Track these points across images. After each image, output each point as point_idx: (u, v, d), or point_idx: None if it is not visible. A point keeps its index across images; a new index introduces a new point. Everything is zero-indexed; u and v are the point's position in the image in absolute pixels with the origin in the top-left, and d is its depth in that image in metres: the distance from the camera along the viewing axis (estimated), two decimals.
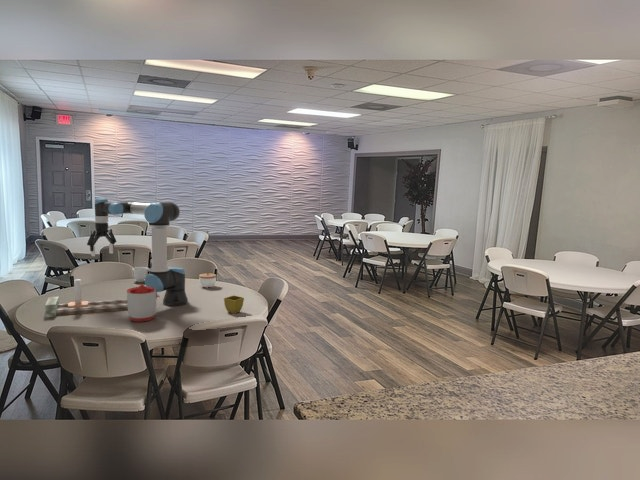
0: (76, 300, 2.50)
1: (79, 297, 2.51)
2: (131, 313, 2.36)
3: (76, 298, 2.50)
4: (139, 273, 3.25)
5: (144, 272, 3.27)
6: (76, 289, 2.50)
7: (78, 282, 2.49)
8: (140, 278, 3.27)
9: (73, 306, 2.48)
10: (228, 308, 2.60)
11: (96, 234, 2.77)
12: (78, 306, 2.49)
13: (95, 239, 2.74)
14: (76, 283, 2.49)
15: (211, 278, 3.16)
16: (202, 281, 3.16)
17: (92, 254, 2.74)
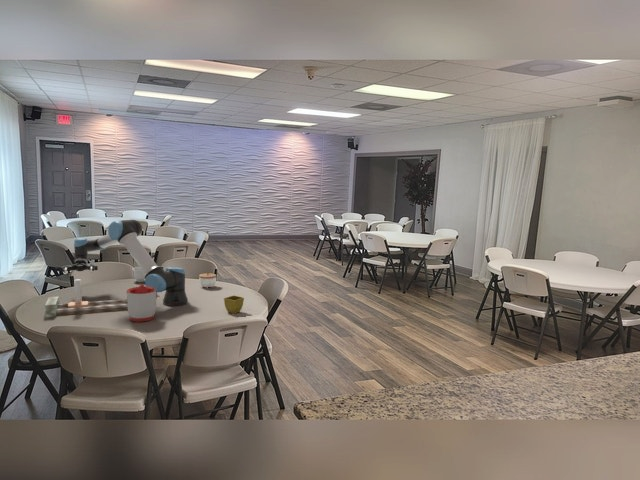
0: (76, 300, 2.50)
1: (79, 297, 2.51)
2: (131, 313, 2.36)
3: (76, 298, 2.50)
4: (139, 273, 3.25)
5: None
6: (76, 289, 2.50)
7: (78, 282, 2.49)
8: (140, 278, 3.27)
9: (73, 306, 2.48)
10: (228, 308, 2.60)
11: None
12: (78, 306, 2.49)
13: None
14: (76, 283, 2.49)
15: (211, 278, 3.16)
16: (202, 281, 3.16)
17: (64, 271, 2.57)
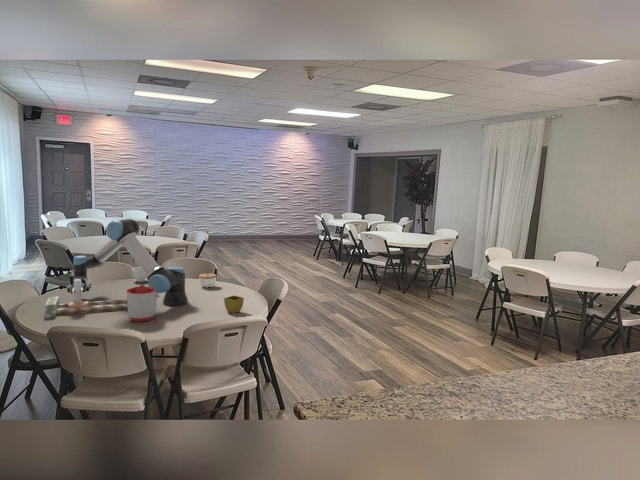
0: (76, 300, 2.50)
1: (79, 297, 2.51)
2: (131, 313, 2.36)
3: (76, 298, 2.50)
4: (139, 273, 3.25)
5: (144, 272, 3.27)
6: (76, 289, 2.50)
7: (78, 282, 2.49)
8: (140, 278, 3.27)
9: (73, 306, 2.48)
10: (228, 308, 2.60)
11: None
12: (78, 306, 2.49)
13: (72, 287, 2.55)
14: (76, 283, 2.49)
15: (211, 278, 3.16)
16: (202, 281, 3.16)
17: (72, 292, 2.46)
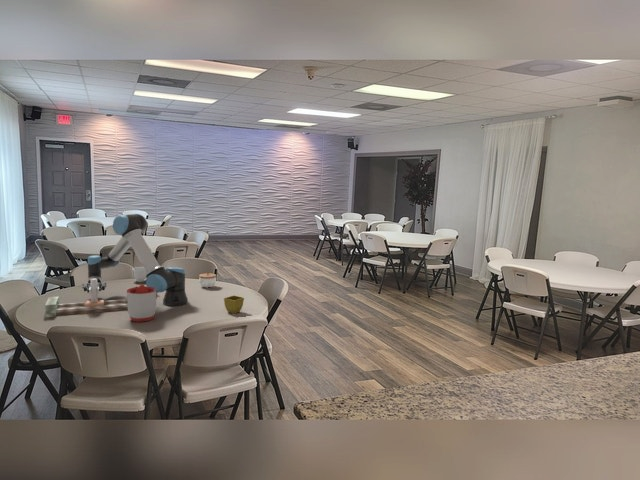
0: (92, 299, 2.54)
1: (95, 296, 2.55)
2: (131, 313, 2.36)
3: (92, 297, 2.54)
4: (139, 273, 3.25)
5: (144, 272, 3.27)
6: (92, 288, 2.53)
7: (94, 281, 2.53)
8: (140, 278, 3.27)
9: (90, 305, 2.52)
10: (228, 308, 2.60)
11: None
12: (94, 305, 2.53)
13: (88, 286, 2.59)
14: (92, 282, 2.53)
15: (211, 278, 3.16)
16: (202, 281, 3.16)
17: (89, 291, 2.50)
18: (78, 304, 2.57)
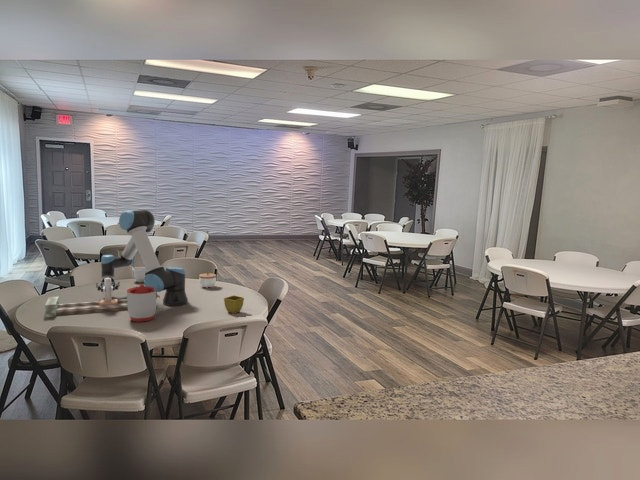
0: (106, 298, 2.57)
1: (109, 295, 2.58)
2: (131, 313, 2.36)
3: (106, 296, 2.57)
4: (139, 273, 3.25)
5: (144, 272, 3.27)
6: (106, 287, 2.56)
7: (108, 280, 2.56)
8: (140, 278, 3.27)
9: (104, 304, 2.55)
10: (228, 308, 2.60)
11: None
12: (108, 304, 2.56)
13: None
14: (106, 281, 2.56)
15: (211, 278, 3.16)
16: (202, 281, 3.16)
17: (103, 291, 2.54)
18: (78, 304, 2.57)
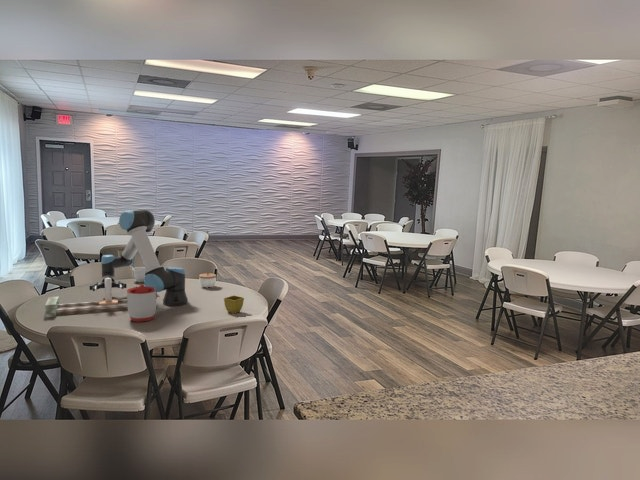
0: (106, 298, 2.57)
1: (109, 295, 2.58)
2: (131, 313, 2.36)
3: (106, 296, 2.57)
4: (139, 273, 3.25)
5: (144, 272, 3.27)
6: (107, 287, 2.57)
7: (109, 280, 2.56)
8: (140, 278, 3.27)
9: (104, 304, 2.55)
10: (228, 308, 2.60)
11: None
12: (109, 304, 2.56)
13: (98, 285, 2.63)
14: (107, 281, 2.56)
15: (211, 278, 3.16)
16: (202, 281, 3.16)
17: (94, 290, 2.53)
18: (78, 304, 2.57)
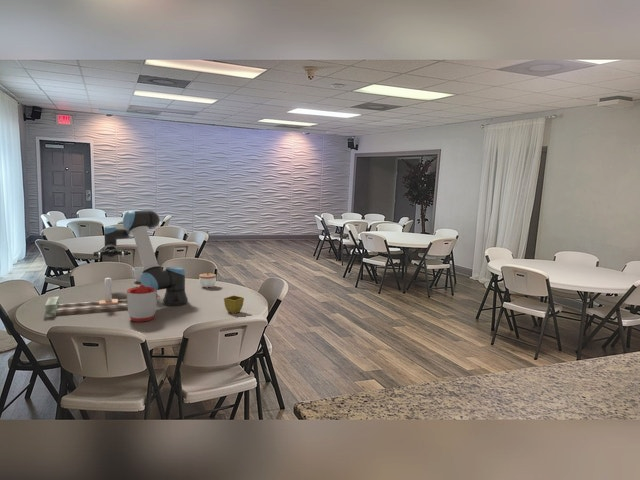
0: (106, 298, 2.57)
1: (109, 295, 2.58)
2: (131, 313, 2.36)
3: (106, 296, 2.57)
4: (139, 273, 3.25)
5: None
6: (107, 287, 2.57)
7: (109, 280, 2.56)
8: (140, 278, 3.27)
9: (104, 304, 2.55)
10: (228, 308, 2.60)
11: None
12: (109, 304, 2.56)
13: (101, 252, 2.80)
14: (107, 281, 2.56)
15: (211, 278, 3.16)
16: (202, 281, 3.16)
17: (98, 256, 2.71)
18: (78, 304, 2.57)
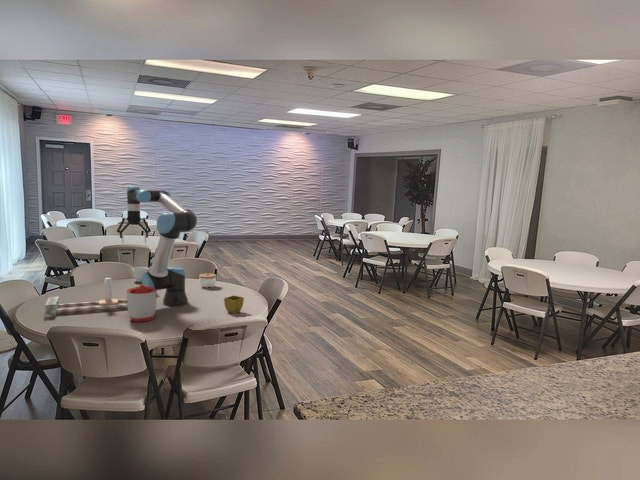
0: (106, 298, 2.57)
1: (109, 295, 2.58)
2: (131, 313, 2.36)
3: (106, 296, 2.57)
4: (139, 273, 3.25)
5: (144, 272, 3.27)
6: (107, 287, 2.57)
7: (109, 280, 2.56)
8: (140, 278, 3.27)
9: (104, 304, 2.55)
10: (228, 308, 2.60)
11: None
12: (109, 304, 2.56)
13: None
14: (107, 281, 2.56)
15: (211, 278, 3.16)
16: (202, 281, 3.16)
17: (122, 241, 2.77)
18: (78, 304, 2.57)
